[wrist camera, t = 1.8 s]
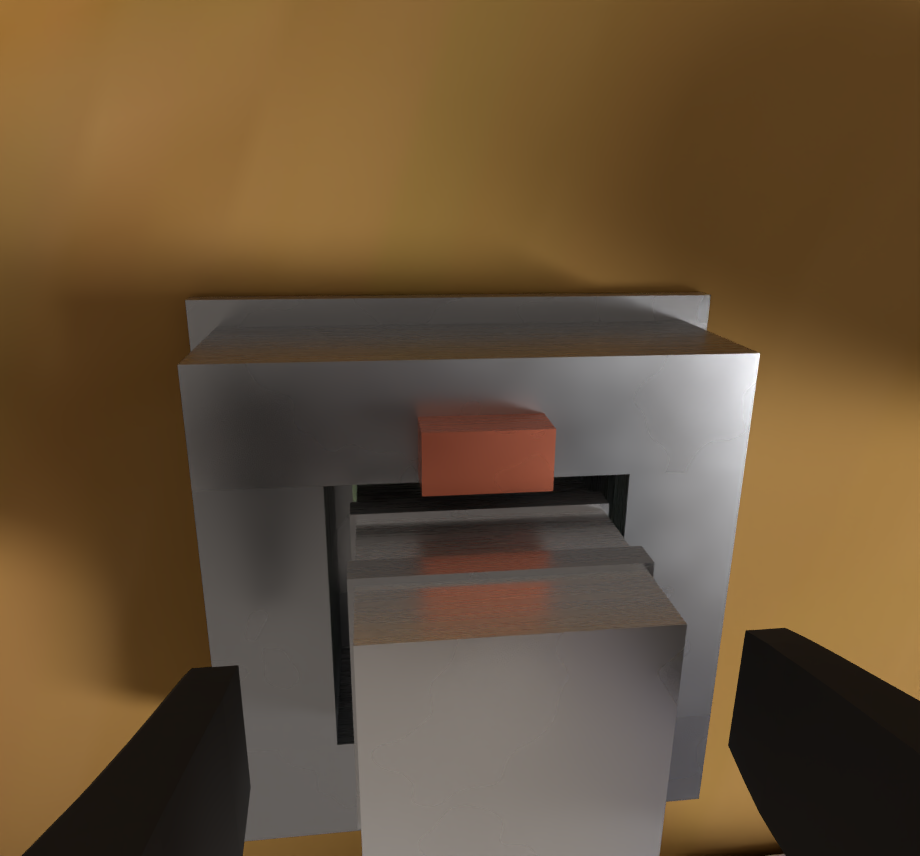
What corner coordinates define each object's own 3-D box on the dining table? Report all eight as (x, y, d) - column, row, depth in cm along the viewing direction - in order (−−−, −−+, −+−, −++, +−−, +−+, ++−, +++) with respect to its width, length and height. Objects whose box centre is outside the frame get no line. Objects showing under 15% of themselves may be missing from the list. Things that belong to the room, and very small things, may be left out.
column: (559, 438, 15) (696, 616, 9) (550, 617, 16) (662, 879, 10) (352, 445, 15) (344, 638, 8) (359, 628, 16) (356, 913, 10)
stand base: (701, 292, 15) (823, 331, 11) (657, 703, 18) (739, 849, 14) (189, 297, 14) (119, 342, 10) (236, 736, 17) (197, 905, 13)
